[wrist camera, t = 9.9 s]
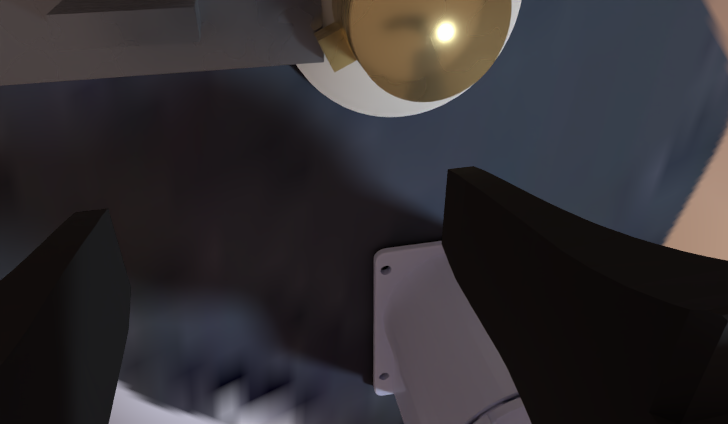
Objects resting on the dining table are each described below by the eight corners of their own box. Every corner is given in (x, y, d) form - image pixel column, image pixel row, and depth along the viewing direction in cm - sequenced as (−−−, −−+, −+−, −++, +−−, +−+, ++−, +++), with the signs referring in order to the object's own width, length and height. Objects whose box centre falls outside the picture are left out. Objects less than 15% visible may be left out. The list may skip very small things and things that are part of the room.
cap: (350, 103, 22) (371, 140, 19) (284, -22, 19) (297, -1, 16) (505, 18, 21) (552, 42, 18) (462, -122, 18) (508, -120, 16)
